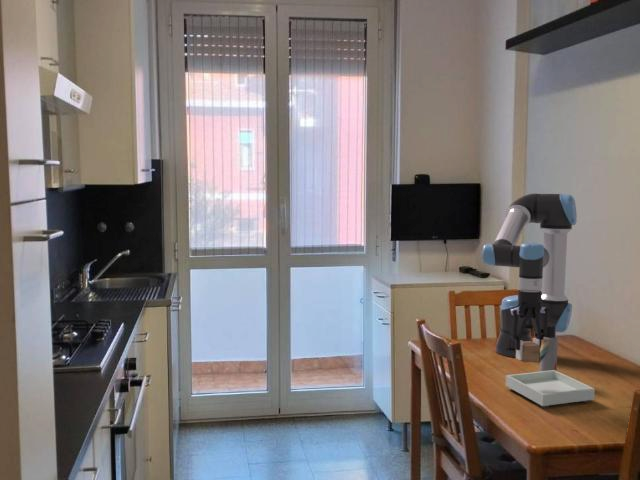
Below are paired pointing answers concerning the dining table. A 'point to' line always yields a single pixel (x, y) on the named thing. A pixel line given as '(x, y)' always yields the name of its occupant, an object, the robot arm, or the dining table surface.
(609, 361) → the dining table surface
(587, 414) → the dining table surface
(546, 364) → the lotion bottle
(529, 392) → the tray
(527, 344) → the walnut block
